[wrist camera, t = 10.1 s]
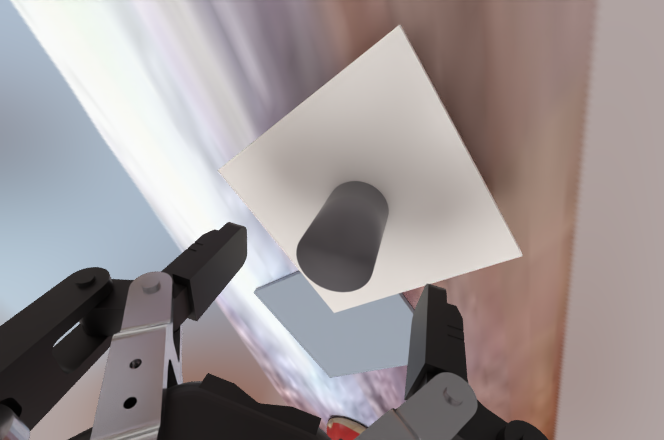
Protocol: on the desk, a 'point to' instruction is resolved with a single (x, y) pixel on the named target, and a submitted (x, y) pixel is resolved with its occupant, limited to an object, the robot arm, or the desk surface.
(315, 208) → the lid
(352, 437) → the ladybug figurine
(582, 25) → the desk surface
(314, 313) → the mat
